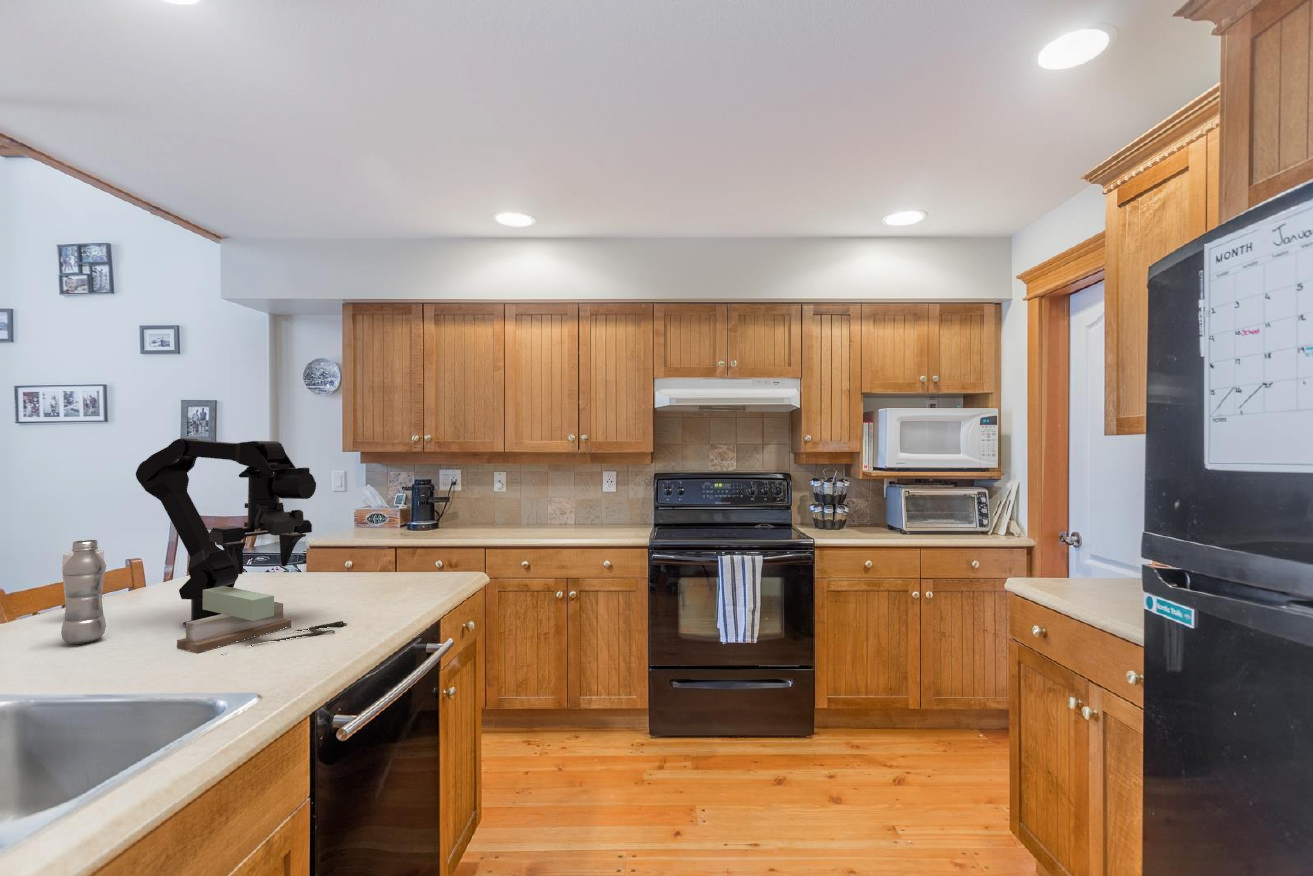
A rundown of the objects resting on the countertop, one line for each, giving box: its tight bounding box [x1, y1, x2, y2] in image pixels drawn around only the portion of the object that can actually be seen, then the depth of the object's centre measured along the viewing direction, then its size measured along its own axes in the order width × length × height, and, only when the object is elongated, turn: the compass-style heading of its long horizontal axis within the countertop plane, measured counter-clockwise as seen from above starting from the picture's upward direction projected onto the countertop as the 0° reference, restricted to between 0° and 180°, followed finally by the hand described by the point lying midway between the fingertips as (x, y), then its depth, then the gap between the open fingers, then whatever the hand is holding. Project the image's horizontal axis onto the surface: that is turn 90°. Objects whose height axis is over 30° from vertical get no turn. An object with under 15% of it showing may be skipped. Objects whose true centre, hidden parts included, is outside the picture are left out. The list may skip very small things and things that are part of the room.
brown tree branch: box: [221, 620, 348, 656], centre depth 121 cm, size 24×10×2 cm, turn 122°
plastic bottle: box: [60, 539, 107, 644], centre depth 119 cm, size 6×7×20 cm
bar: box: [203, 586, 275, 621], centre depth 123 cm, size 18×4×4 cm, turn 63°
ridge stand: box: [176, 601, 292, 654], centre depth 123 cm, size 7×18×5 cm, turn 155°
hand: (262, 570), depth 131 cm, fingers open, 9 cm apart
